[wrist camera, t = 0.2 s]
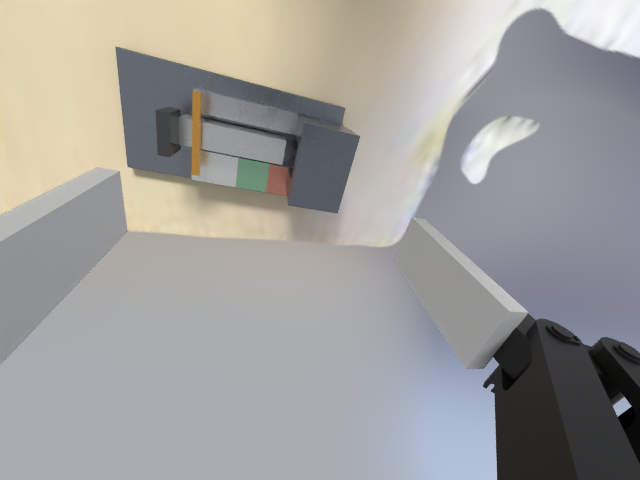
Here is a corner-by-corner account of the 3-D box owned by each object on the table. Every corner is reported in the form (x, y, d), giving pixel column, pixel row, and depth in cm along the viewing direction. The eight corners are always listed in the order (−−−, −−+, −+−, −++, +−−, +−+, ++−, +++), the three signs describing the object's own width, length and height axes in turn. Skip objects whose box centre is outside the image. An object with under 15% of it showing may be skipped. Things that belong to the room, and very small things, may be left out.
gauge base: (120, 47, 29) (58, 34, 21) (343, 107, 36) (366, 116, 27) (131, 164, 35) (86, 191, 27) (320, 197, 42) (333, 227, 33)
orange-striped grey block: (174, 83, 30) (154, 83, 25) (289, 111, 34) (293, 117, 28) (175, 161, 35) (158, 176, 29) (278, 180, 38) (279, 196, 33)
